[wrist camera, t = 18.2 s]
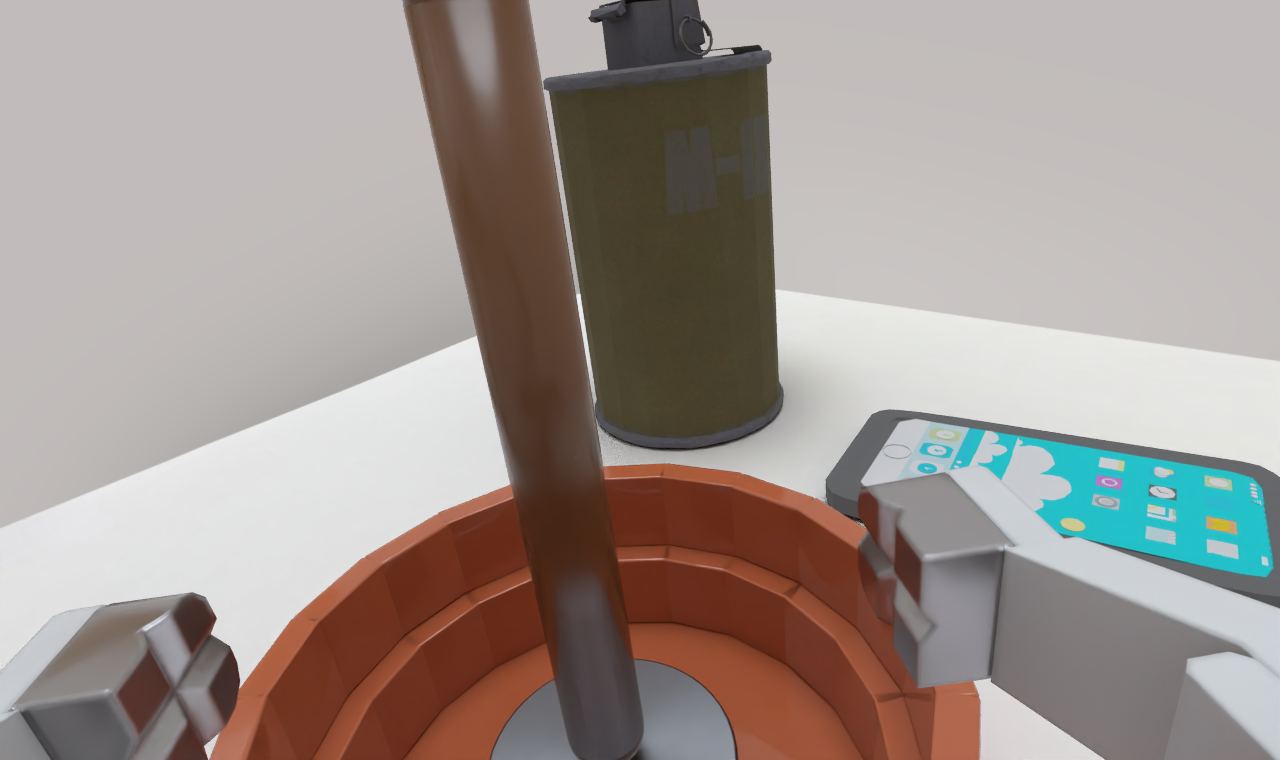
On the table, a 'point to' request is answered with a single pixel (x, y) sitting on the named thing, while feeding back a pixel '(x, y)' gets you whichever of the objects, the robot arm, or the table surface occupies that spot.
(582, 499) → the peg on round base
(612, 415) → the canister
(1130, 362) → the table surface
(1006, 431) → the smartphone
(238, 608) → the table surface
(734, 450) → the table surface
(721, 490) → the bowl
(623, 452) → the table surface
